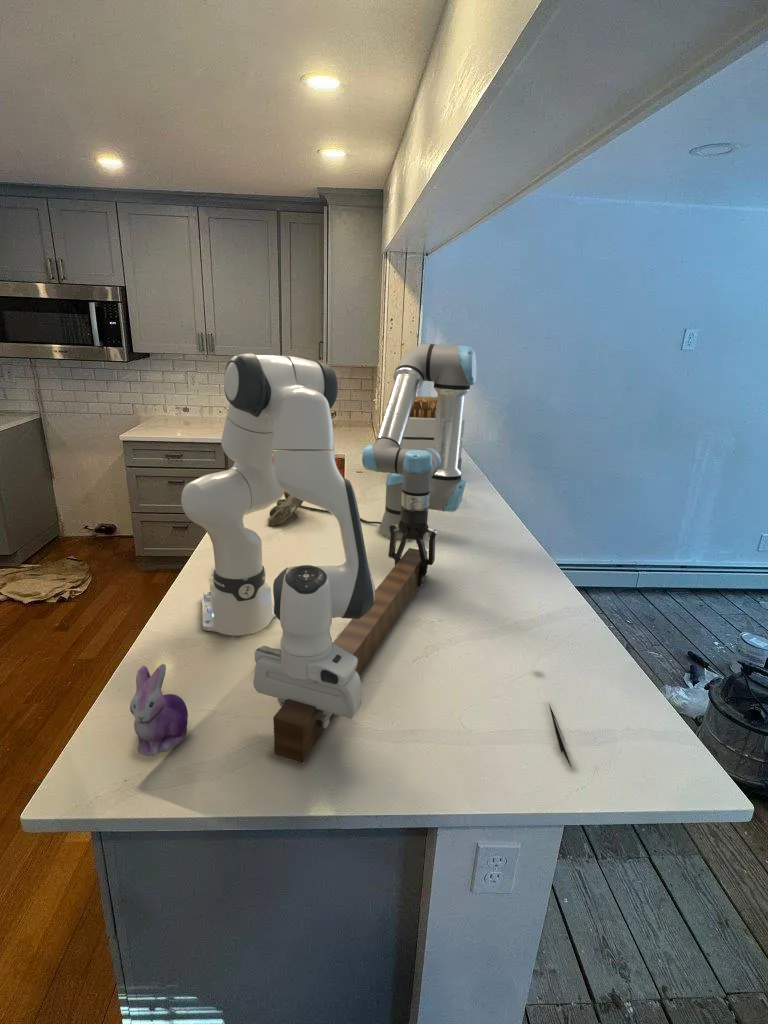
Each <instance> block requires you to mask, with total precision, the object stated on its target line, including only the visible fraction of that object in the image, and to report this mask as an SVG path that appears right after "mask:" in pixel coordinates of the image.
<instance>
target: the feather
mask: <svg viewBox="0 0 768 1024" xmlns="http://www.w3.org/2000/svg"><path fill="white" fill-rule="evenodd" d="M548 706H549V710H550V714H551V718H552V719H551V720H552V724H553V726H554V731H555V735H556V739H557V742H558V745H559V750H560V754H564V757H565V758H566V760H567V762H568V764H569V766H570V767H572V765H571V761H570V759H569V756H568V754H567V753H568V752H567V751H566V748H568V745H565V744H564V743H566V742H567V741H566V740H565V739H566V738H565V737H564V734H563V731H562V729H561V728H560V726H559V723H558V721H557V718H556V716H555V714H554V712H553V709H552V707H551V705H550V702H548ZM565 746H566V748H565ZM570 753H571V751H569V754H570ZM571 754H572V753H571Z"/></svg>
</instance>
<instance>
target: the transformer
mask: <svg viewBox="0 0 768 1024" xmlns="http://www.w3.org/2000/svg"><path fill="white" fill-rule="evenodd" d="M437 397H438V396H417V395H416V396H415V399H414V403H413V406H412V409H411V413H410V416H409V419H408V422H407V426H406V429H405V432H404V436H403V439H402V442H401V446H400V448H403V449H412V450H422V449H426V448H431V449H433V445H434V433H435V421H436V409H437ZM464 429H465V419H464V418H462V425H461V436H460V446H459V456H458V466H457V467H458V469H459V470H460V472H461V473H462V461H463V460H462V453H463V442H464V441H463V440H462V439H463V438H464V431H465V430H464Z"/></svg>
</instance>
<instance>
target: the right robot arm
mask: <svg viewBox="0 0 768 1024" xmlns="http://www.w3.org/2000/svg"><path fill="white" fill-rule="evenodd" d="M392 376H393V377H392V378H393V381H394V383H393V386H392V389H391V393H390V395H389V398H388V402H387V405H386V407H385V410H384V414H383V417H382V420H381V423H380V426H379V429H378V432H377V435H376V438H375V441H374V444H373V443H372V444H366V445H365V447H364V448H363V452H362V456H361V463H362V467H363V468H364V469H365V470H367V471H371V472H376V473H386V474H387V475H386V482H385V504H384V505H385V507H384V508H385V509H384V513H383V515H382V519H381V521H370V520H365V519H363V518H361V517H360V522H363V523H366V524H369V525H371V524H374V525H375V524H376V525H379V526H378V533H379V534H380V535H381V536H382V537H385V538H387V539H389V546H388V558H390V559H393V560H394V566H395V565H396V564H397V563H398V561H399V560H400V559H401V558H402V556H403V552H404V550H405V548H406V545H407V542H408V541H410V540H414V541H415V543H416V544H417V549H418V550H419V553H420V558H421V562H422V563H421V564H420V566H419V577H418V588H421V587H422V585H423V584H424V579H423V576H425V577H426V575H427V573H428V567H429V566H432V565H433V564H434V563H435V561H436V560H435V559H436V537H437V535H438V530H437V529H432V528H430V527H429V524H428V519H429V510H434V511H439V512H440V511H441V512H448V513H449V512H450V513H454V512H456V511H457V510H458V509H459V508H460V505H461V502H462V499H463V496H464V493H465V492H464V491H465V489H466V479H464V478H462V471H461V472H460V470H459V469H458V467H457V466H458V456H459V446H460V439H461V438H460V436H461V425H462V419H463V414H464V403H465V396H466V395H467V394H468V393H469V392H470V390H471V386H474V385H475V384H476V381H477V358H476V352H475V350H474V349H473V347H471V346H466V345H460V344H458V345H457V344H441V343H439V344H438V343H423V344H419V345H417V346H415V347H413V348H412V349H410V350H409V351H407V353H405V355H403V357H401V359H400V361H399V362H398V363H397V365H396V367H395V370H394V373H393V375H392ZM424 382H432V383H433V389H434V390H435V391H436V393H437V396H436V397H437V409H436V421H435V433H434V445H433V449H431V448H426V449H422V450H412V449H403V448H400V446H401V442H402V439H403V436H404V432H405V429H406V426H407V422H408V419H409V416H410V413H411V409H412V406H413V403H414V399H415V397H417V392H418V390H419V389H420V388H421V387H422V386H423V384H424ZM299 508H302V509H306V510H311V511H317V512H322V513H327V514H331V513H330V512H329V511H327V510H325V509H322V508H321V509H320V508H315V507H311V506H306V505H301V506H300V507H299ZM426 533H427V536H428V538H429V539H428V552H427V553H426V551H427V547H426V544H425V537H424V535H425V534H426ZM397 541H400V542H399V546H398V547H397ZM396 547H397V549H396ZM394 566H393V567H394Z"/></svg>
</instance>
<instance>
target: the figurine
mask: <svg viewBox="0 0 768 1024" xmlns="http://www.w3.org/2000/svg"><path fill="white" fill-rule="evenodd" d="M166 672H167V665H166V664H164V663H161V664H160V665H159V666H157V668H156V669H155V670H154V671H153V673H152V674H151V673H150V671H149V668H148V667H147V666H146V665H141V666H140V667H139V668H138V670H137V672H136V679H135V686H136V688H135V689H136V690H135V693H134V695H133V696H132V699H131V700H130V704H129V711H130V714H131V715H132V716H133V717H134V722H133V730H134V732H135V734H136V736H137V738H138V739H137V740H138V743H137V747H136V750H137V753H138V754H140V755H144V756H147V757H156V756H157V755H159V754H160V753H167V752H170V751H171V750H173V749H174V748H175V747H177V746H178V745H180V744H181V743H182V742H183V741H184V740H185V739H186V738H187V734H188V722H189V721H188V718H189V711H188V707H187V704H186V702H185V701H184V700H183V698H182V697H181V696H179V695H178V694H174V693H166V694H163V692H162V687H163V684H164V680H165V677H166Z"/></svg>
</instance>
